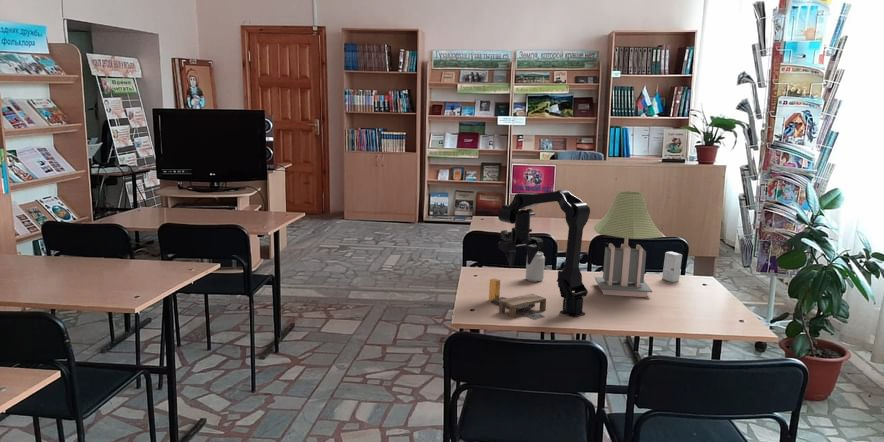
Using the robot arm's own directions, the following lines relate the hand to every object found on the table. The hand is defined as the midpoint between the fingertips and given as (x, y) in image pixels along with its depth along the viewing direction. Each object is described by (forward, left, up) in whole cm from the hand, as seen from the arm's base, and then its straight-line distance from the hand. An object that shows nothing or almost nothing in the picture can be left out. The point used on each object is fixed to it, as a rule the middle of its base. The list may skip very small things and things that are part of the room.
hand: (520, 265), depth 244 cm
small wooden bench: (-15, +12, -12) cm, 23 cm away
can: (+14, -22, -12) cm, 29 cm away
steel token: (-21, +12, -13) cm, 27 cm away
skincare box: (-16, -75, -12) cm, 78 cm away
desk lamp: (-16, -42, -12) cm, 47 cm away
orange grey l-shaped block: (-6, +11, -12) cm, 18 cm away
